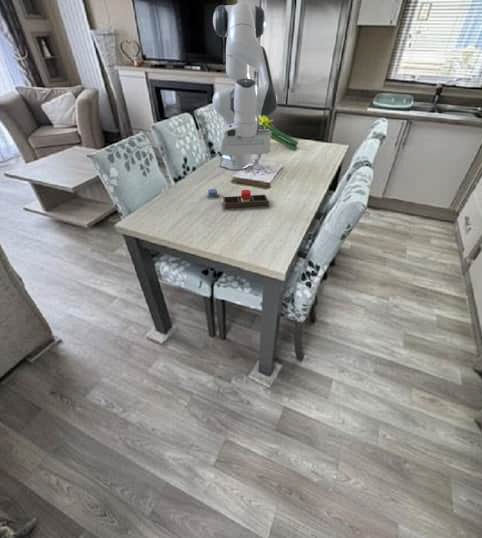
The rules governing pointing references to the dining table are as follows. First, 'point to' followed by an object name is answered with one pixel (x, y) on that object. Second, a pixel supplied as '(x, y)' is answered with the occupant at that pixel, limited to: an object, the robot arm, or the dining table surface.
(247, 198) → the red token
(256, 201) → the token board
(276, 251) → the dining table surface
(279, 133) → the daffodil flowers
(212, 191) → the slate token
